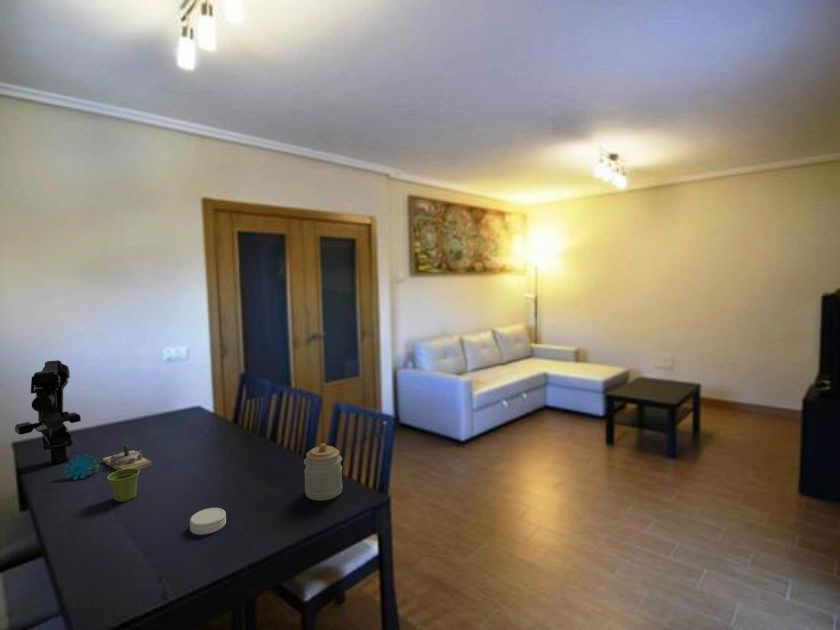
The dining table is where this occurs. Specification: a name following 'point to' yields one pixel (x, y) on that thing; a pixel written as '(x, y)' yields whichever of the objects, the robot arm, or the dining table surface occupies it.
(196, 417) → the dining table surface
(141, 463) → the gear board
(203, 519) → the white round flat block
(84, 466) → the gear
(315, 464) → the jar
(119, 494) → the plant pot
